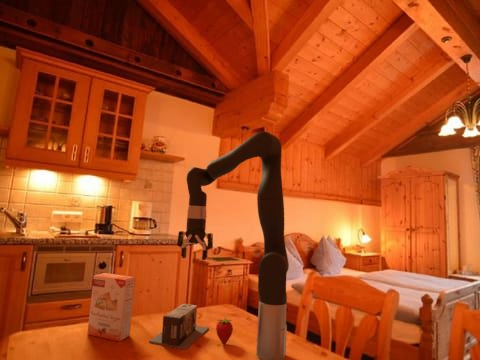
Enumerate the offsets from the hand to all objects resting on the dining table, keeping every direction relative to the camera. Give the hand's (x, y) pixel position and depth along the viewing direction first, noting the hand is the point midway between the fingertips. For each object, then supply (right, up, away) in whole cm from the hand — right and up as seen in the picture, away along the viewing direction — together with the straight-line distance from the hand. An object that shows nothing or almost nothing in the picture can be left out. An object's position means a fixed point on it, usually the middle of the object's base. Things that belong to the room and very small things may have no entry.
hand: (193, 258), depth 118 cm
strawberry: (+12, -27, -13) cm, 32 cm away
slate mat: (-4, -26, -8) cm, 28 cm away
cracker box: (-29, -25, -11) cm, 40 cm away
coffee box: (-2, -22, -1) cm, 22 cm away
